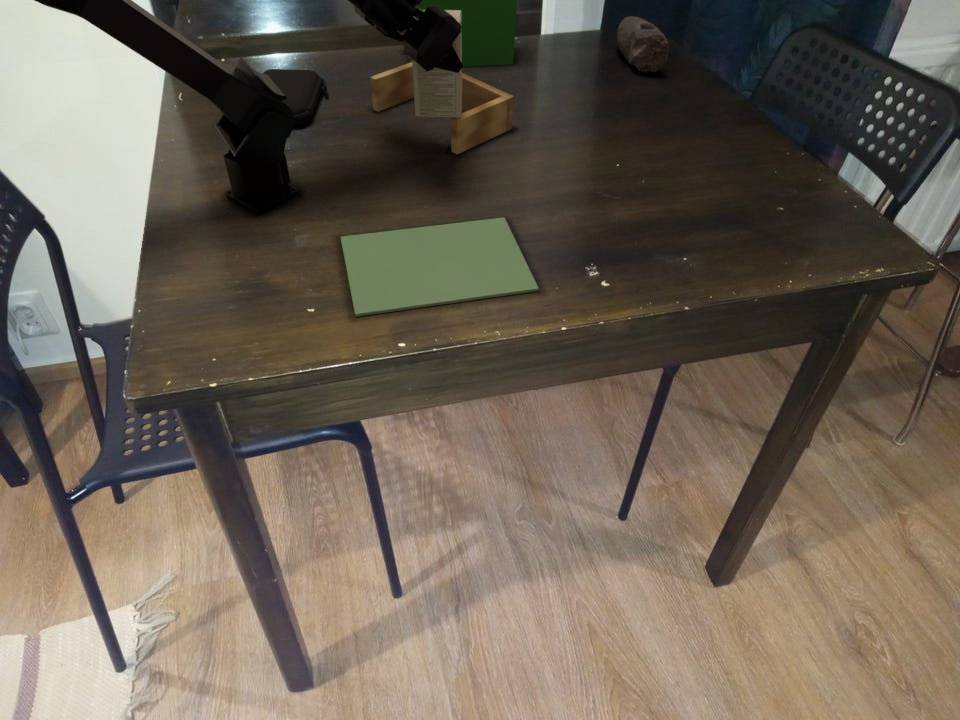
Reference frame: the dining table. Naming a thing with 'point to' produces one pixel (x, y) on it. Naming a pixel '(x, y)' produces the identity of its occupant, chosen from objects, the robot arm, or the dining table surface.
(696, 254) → the dining table surface
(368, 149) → the dining table surface
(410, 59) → the hardback book
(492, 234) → the mat
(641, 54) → the perforated stone tool
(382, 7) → the robot arm
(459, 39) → the cosmetic box
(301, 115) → the carrying case
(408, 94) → the frame
